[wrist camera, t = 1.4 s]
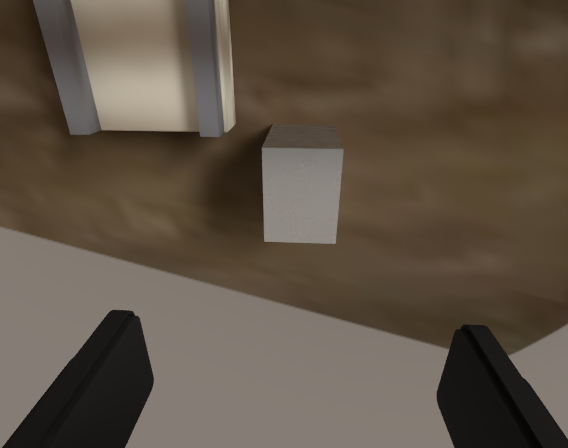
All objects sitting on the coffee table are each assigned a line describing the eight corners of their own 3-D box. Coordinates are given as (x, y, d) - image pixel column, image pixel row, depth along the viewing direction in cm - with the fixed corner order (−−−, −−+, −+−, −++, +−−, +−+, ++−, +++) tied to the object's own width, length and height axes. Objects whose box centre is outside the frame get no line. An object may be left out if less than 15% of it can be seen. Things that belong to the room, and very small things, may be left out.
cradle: (57, -86, 20) (-5, -120, 16) (223, -89, 20) (201, -125, 16) (104, 121, 26) (67, 134, 22) (235, 123, 25) (222, 137, 21)
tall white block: (272, 124, 25) (261, 147, 19) (334, 124, 25) (343, 149, 18) (273, 202, 28) (264, 245, 22) (328, 203, 28) (335, 247, 21)
